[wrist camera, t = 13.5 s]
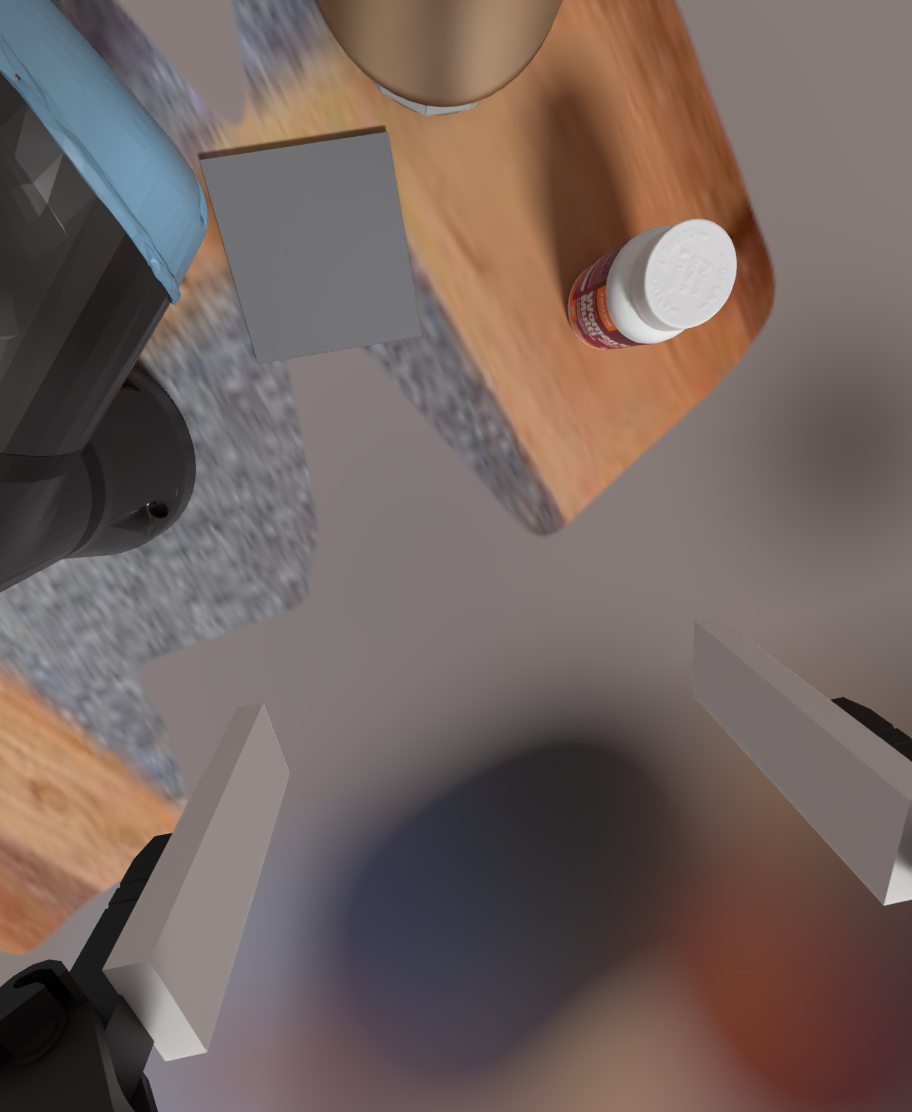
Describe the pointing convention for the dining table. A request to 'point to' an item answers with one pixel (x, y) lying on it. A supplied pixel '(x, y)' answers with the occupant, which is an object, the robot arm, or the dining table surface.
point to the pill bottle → (653, 286)
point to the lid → (440, 44)
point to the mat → (316, 245)
